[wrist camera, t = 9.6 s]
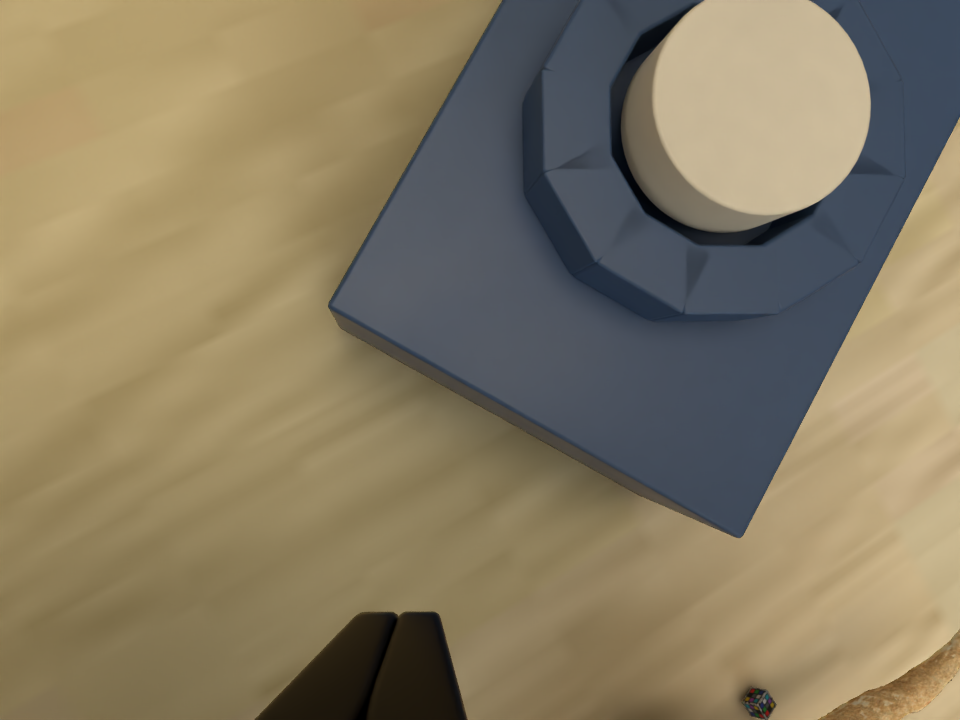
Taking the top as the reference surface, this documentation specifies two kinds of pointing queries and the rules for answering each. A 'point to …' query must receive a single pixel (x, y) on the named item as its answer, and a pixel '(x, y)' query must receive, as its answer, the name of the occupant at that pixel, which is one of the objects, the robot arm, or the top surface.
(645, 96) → the push button cap
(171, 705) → the top surface
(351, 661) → the robot arm
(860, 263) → the push button box
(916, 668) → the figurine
